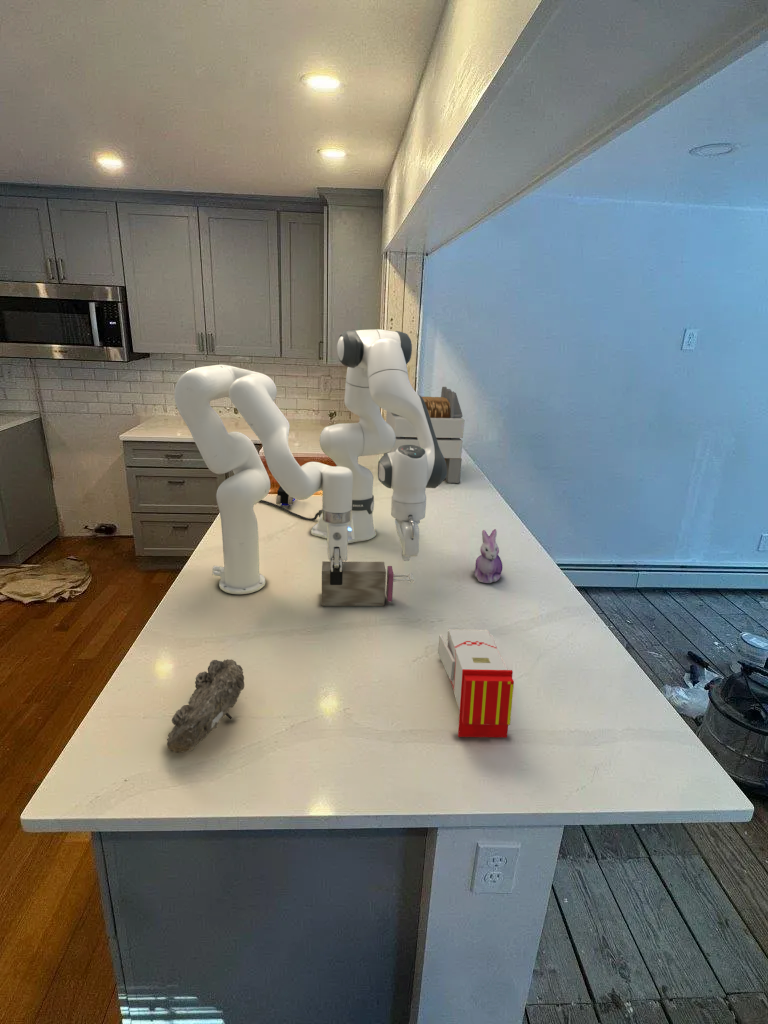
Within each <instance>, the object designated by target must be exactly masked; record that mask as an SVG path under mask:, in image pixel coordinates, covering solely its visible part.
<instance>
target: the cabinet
mask: <svg viewBox="0 0 768 1024" xmlns="http://www.w3.org/2000/svg"><path fill="white" fill-rule="evenodd" d="M333 565H334V562H333ZM339 565H340V562H339ZM330 570H331V561H330V560H328V561H325V560H324V561H323V560H322V562H321V606H322V607H324V606H325V607H329V606H330V607H336V606H337V607H339V606H341V607H342V606H343V607H347V606H348V607H349V606H350V607H353V606H354V607H355V606H356V607H357V606H358V607H360V606H361V607H371V606H372V607H375V606H376V607H378V606H379V607H382V606H383V607H384V606H385V602H386V601H385V599H386V598H385V597H386V583H387V569H386V564H385V561H342V570H343V577H342V585H330Z"/></svg>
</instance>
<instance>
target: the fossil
mask: <svg viewBox="0 0 768 1024" xmlns="http://www.w3.org/2000/svg"><path fill="white" fill-rule="evenodd" d="M243 670H244V669H243V667H242V665H240V664H237V662H236V661H235V660H234V659H232V658H231V659H227V658H226V659H224V660H223V661H222V660H217V659H212V660H211V661H210V663H209V665H208V666H207V671H201V672H199V673H198V674H197V675H196V676H195V680H194V684H195V685H194V687H195V689H194V690H193V693H192V694H191V697H190V698H189V700H188V704H184V705H182V706H181V707H180V709H177V710H176V711H175V713H174V715H173V716H172V718H171V723H172V724H173V727H172V730H171V731H170V732H168V734H167V738H166V741H167V742H166V745H167V749H168V750H169V751H173V752H174V753H176V754H178V753H182V752H188V751H189V752H192V751H193V750H195V748H196V747H197V746H199V744H200V743H201V742H203V741H204V740H205V739H206V738H207V737H208V736H209V735H210V734H211V733H212V732H214V730H215V729H217V727H218V726H219V724H220V722H221V721H222V720H223V719H224V718H225V716H226V717H227V719H229V720H233V717H232V715H230V714H229V710H230V709H231V708H234V706H235V704H236V703H237V702H238V699H239V697H240V695H241V693H242V691H243V690H245V689H244V688H245V675H244V671H243Z"/></svg>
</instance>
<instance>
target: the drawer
mask: <svg viewBox="0 0 768 1024" xmlns="http://www.w3.org/2000/svg"><path fill="white" fill-rule="evenodd" d="M386 567H387V569H386V584H385V596H386V601H387V602H393V593H394V592H393V591H394V583H396V582H397V583H398V582H401V583H403V582H406V583H407V582H408V583H410V584H414V583H415V578H414V575H413V573H412V572H408V573H394V569H393V565H387V566H386Z"/></svg>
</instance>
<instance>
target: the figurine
mask: <svg viewBox="0 0 768 1024" xmlns="http://www.w3.org/2000/svg"><path fill="white" fill-rule="evenodd" d="M497 531H498V530H497V528H494V529H493V530H492V531H491V532H490V535H489V534H488V532H487V531H486V530H485V529H482V531H481V536H482V537H481V538H482V539H481V540H482V543H481V545H480V548H479V549H480V550H479V551H480V555H479V556H478V557H477V558H476V559H475V567H474V578H476V579H477V581H478V582H480V583H484V584H492V583H495V582H496V583H497V581H499V580H500V578H501V576H502V572H503V562H502V559H501V556H499V553H500V547H499V545H498V543H497V541H496V540H497V534H498V533H497Z"/></svg>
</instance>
